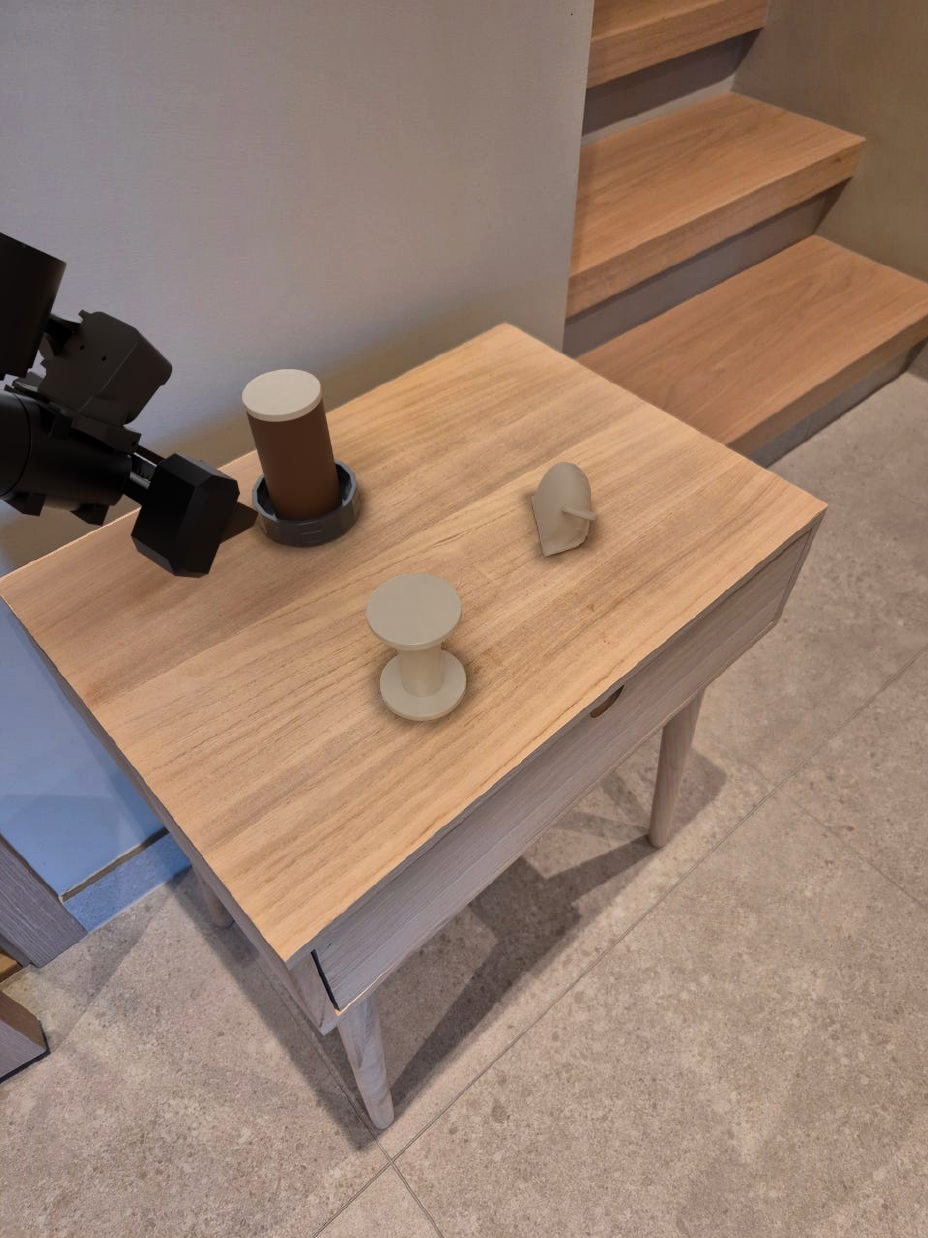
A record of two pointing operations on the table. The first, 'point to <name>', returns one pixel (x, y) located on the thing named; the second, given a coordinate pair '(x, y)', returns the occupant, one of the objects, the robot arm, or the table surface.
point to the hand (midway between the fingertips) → (209, 492)
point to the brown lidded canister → (293, 443)
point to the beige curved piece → (563, 508)
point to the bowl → (312, 529)
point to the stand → (418, 644)
